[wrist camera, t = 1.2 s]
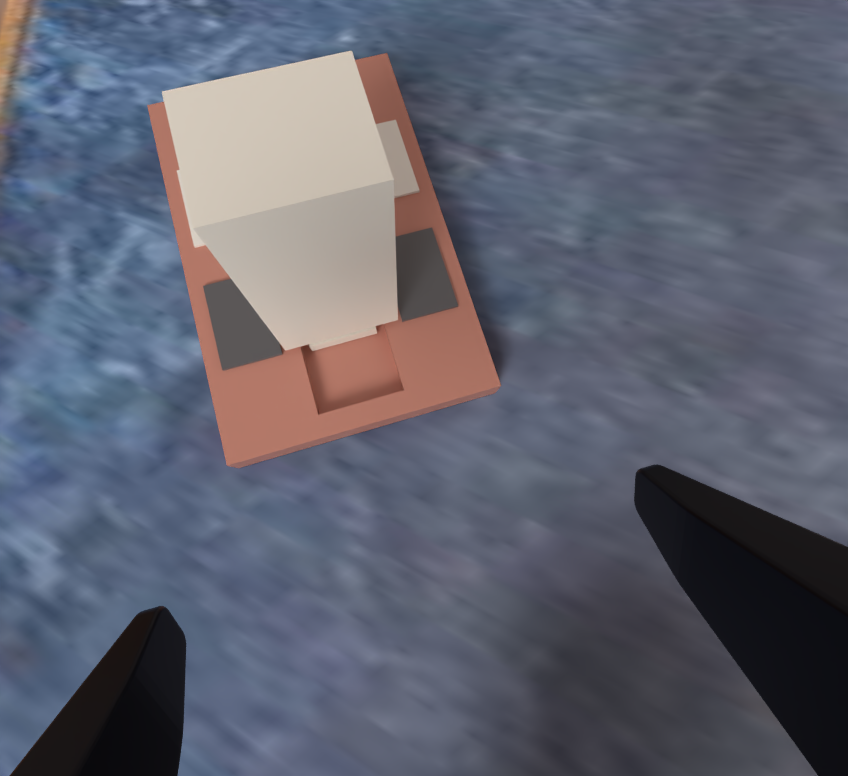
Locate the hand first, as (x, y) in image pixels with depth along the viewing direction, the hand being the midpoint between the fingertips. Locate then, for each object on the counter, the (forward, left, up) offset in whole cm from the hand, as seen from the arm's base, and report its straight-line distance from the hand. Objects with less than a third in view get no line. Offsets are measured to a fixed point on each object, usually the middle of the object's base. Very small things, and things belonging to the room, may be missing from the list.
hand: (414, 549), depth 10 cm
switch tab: (+6, +8, -13) cm, 17 cm away
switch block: (+8, +11, -13) cm, 19 cm away
